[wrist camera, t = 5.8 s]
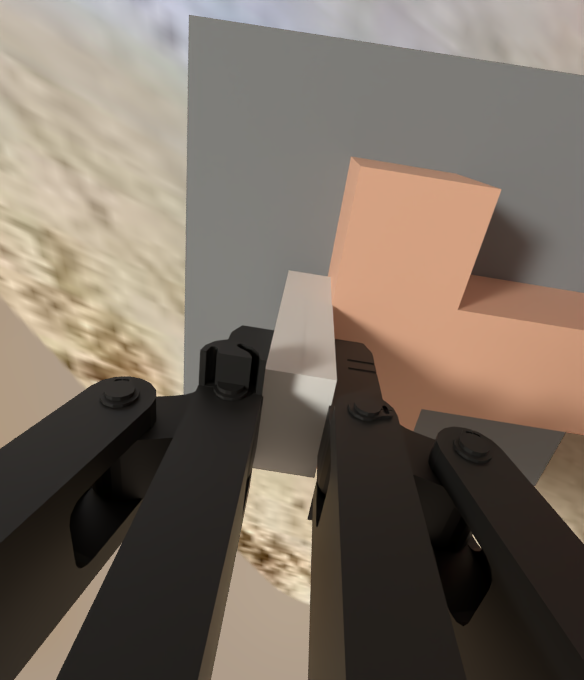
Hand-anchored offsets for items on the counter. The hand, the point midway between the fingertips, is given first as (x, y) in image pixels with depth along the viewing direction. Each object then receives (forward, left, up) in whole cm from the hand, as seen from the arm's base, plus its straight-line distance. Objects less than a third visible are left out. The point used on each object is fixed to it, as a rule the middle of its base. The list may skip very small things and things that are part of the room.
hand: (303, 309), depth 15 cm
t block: (0, +6, -2) cm, 6 cm away
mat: (0, +4, -3) cm, 5 cm away
